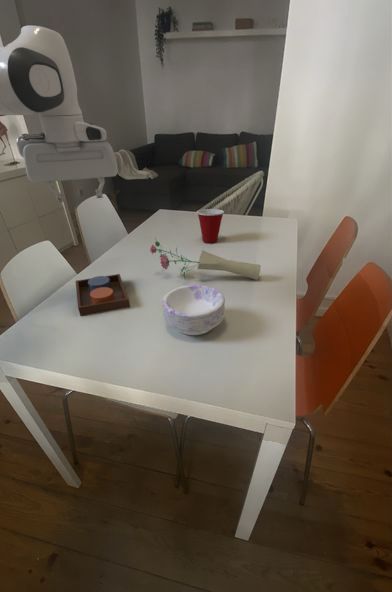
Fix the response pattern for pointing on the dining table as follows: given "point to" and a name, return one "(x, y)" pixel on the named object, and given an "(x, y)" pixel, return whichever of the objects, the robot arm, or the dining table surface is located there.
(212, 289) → the paper bowls
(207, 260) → the flower vase
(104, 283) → the blue short cylinder
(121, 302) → the tray
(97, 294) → the orange short cylinder
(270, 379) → the dining table surface
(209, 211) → the plastic cup
